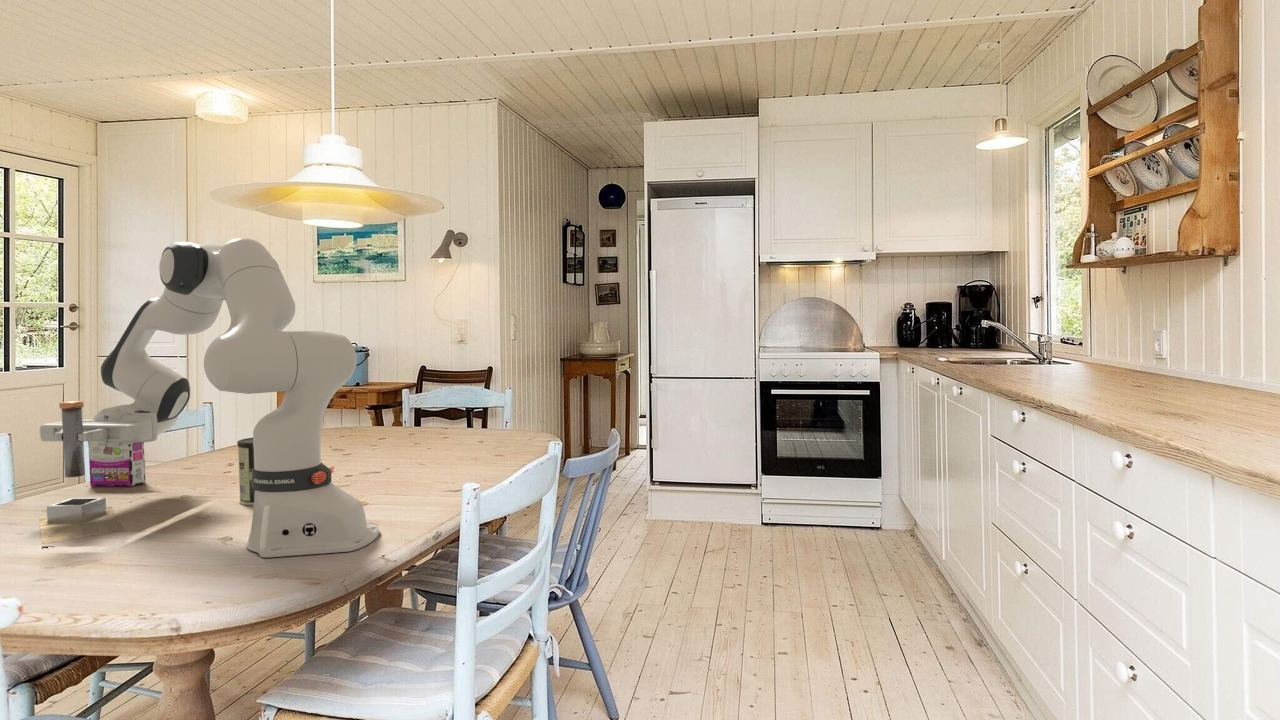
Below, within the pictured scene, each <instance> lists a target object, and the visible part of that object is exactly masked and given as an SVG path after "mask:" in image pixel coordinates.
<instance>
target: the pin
mask: <svg viewBox="0 0 1280 720" xmlns="http://www.w3.org/2000/svg"><path fill="white" fill-rule="evenodd" d="M58 405H59V409H61V421H62V429H63V441H62V445H63V446H62V447H63V465H64V466H63V468H64V477H65V478H78V477H83V476H85V475H86V470H85V467H86V466H85V465H86V464H85V446H84V441H78V438H79V437H78V433H80V432H83V423H82V420H83V409H82V408H84V401H83V400H81V401H80V400H76V401H62V402H59V404H58Z"/></svg>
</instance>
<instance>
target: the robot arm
mask: <svg viewBox="0 0 1280 720" xmlns="http://www.w3.org/2000/svg"><path fill="white" fill-rule="evenodd" d="M158 266H159V267H158V269H159V277H160V280H161V282H162V284H163V285H164V289H163V292H162V294H161V296H159V297H154V298H153V297H152V298H150V299H149V300H146V301H145V302H144V303H143V304H142V305H141V306H140V307H139V309H138V310H137V311H136V312H135V314H134V316H133V317H132V319H131V321H130V322H129V323H128V325H127V327H126V329H125V331H124V332H123V333H122V335H121V337H120V338H119V341H118V343H116V345H115V347H114V348H113V350H112V351H111V352H110V353H109V354H108V355H107V356H106V358H104V360H103V362H102V364H101V366H100V376H101V379H102V382H103V384H104V385H105V386H108V387H110V388H111V389H114V390H116V391H118V392H121V393H123V394H125V395H126V396H128V397H130V398H131V399H133V400H134V401H133V402H132V403H130V404H129V403H128V404H121V405H116V406H110V407H106V408H105V407H104V408H103V409H101V410H99V411H97V413H96V414H95V415H94V418H93V419H82V423H83V432H80V433H78V437H79V438H78V441H83V442H88V441H99V442H100V443H101V444H103V445H105V446H108V447H119V446H123V445H129V444H132V443H139V442H144V443H151V442H154V441H157V440H158V436H159V435H161V434H163V433H165V432H167V431H168V430H170V429H171V428H172V427H173V426H174V425H175V424H176V422H177V420H178V416H179V415H180V414H181V413H182V412H183V410H184V409H185V408H186V406H187V405H188V402H189V400H190V398H191V386H190V382H189V380H188V378H185V377H184V376H183V375H181V374H179V373H178V372H176V371H174V370H173V369H171V368H170V367H168V366H165V365H164V364H162V363H161V362H159V361H157V360H155V359H154V358H152V357H151V356H150V355H149V354H148V353H147V351H146V347H147V346H148V344H149V342H150V340H151V339H152V338H153V336H154V334H155V333H156V331H160V332H166V333H169V334H174V335H179V336H181V335H184V336H188V335H195V334H200V333H202V332H204V331H207V330H208V329H209V328H211V327H212V325H213V324H214V323H215V322H216V320H217V318H218V316H219V314H220V311H221V308H222V305H223V301H225V303H226V306H227V309H228V313H229V316H230V325H229V327H228V329H227V330H226V331H225V332H224V333H222V334H221V335H218V336H217V337H216V338H215V339H213V340H212V342H211V343H210V344H209V345H208V346H207V349H206V351H205V352H204V358H203V369H204V373H205V375H206V378H207V379H208V380H209V382H210V383H211V385H212V386H213V387H214V388H216V389H217V390H218V391H220V392H228V393H235V394H246V395H251V394H265V393H266V394H267V393H279V392H284V397H283V399H282V402H281V403H280V404H279V406H278V407H277V408H276V409H274V410H273V411H271V412H269V413H267V414H265V415H264V416H263V417H261V418H260V419H259V420H258V422H257V423H256V425H255V426H254V429H253V431H252V435H253V437H252V438H253V444H254V468H253V469H252V494H253V498H254V505H253V512H252V521H251V526H250V530H249V531H250V532H249V536H248V540H247V543H246V548H247V549H248V550H250V551H251V552H254V553H257V554H258V555H259V557H261V558H276V557H289V556H290V557H291V556H293V557H294V556H305V555H306V556H307V555H321V554H332V553H333V554H334V553H347V552H352V551H355V550H359V549H362V548H364V547H366V546H368V545H370V543H372V542H373V541H374V540H376V539H377V538H378V536H379V535H380V530H379V526H378V525H376V524H368V523H367V522H368V521H367V518H366V512H365V508H364V506H363V504H362V502H361V501H360V500H359V499H357V498H356V497H354V496H352V495H351V494H349V493H348V492H346V491H345V490H344V489H341V488H340V487H339V486H337V485H335V484H334V483H333V482H332V473H333V474H334V472H335V470H334V469H335V466H330V467H329V466H326V465H325V464H324V463H323V462H322V461H321V460H322V457H321V456H322V455H321V453H322V452H321V441H322V439H321V438H322V426H323V425H322V424H323V419H324V416H325V414H326V413H325V412H326V409H327V408H328V405H329V403H330V402H331V400H332V398H333V397H334V395H335V394H336V393H337V392H338V391H339V389H340V388H341V387H342V386H343V385H345V384H347V382H348V381H349V380H350V379H351V378H352V377H353V375H354V373H355V370H356V368H357V362H358V361H357V360H358V359H357V353H356V349H355V347H354V345H353V343H352V342H351V341H350V339H349V338H348V337H346V336H345V335H343V334H337V333H333V332H327V331H321V330H313V331H312V330H311V331H309V330H308V331H307V330H305V331H303V330H302V331H301V330H300V331H298V330H297V331H293V330H292V331H290V330H289V331H285V330H284V329H285V328H286V327H287V326H289V325H290V323H291V322H292V321H293V319H294V317H295V313H296V303H295V300H294V298H293V296H292V293H291V291H290V289H289V286H288V284H287V282H286V280H285V277H284V275H283V273H282V271H281V268H280V267H279V264H278V263H277V261H276V259H275V258H273V256H272V254H271V253H270V252H269V251H268V250H267V248H266V247H265V246H264V245H263V244H262V243H260V242H259V241H257V240H255V239H251V238H245V237H241V238H234V239H231V240H229V241H227V242H225V243H224V244H223V245H219V244H209V243H208V244H207V243H194V242H192V241H178V242H172V243H170V244H169V245H168V246H167V247H165V248H164V249H163V251H162V254H161V256H160V259H159V265H158ZM39 438H40V440H41V442H63V429H62V420H61V421H60V420H59V421H54V422H53V421H52V422H47V423H46V422H45V423H43V424H41V425H40V426H39Z"/></svg>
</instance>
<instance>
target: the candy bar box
mask: <svg viewBox="0 0 1280 720" xmlns="http://www.w3.org/2000/svg"><path fill="white" fill-rule="evenodd" d="M87 442H88V443H87V444H88V461H89V462H88V463H89V465H88V466H89V483H90V487H92V486H96V487H99V488H100V487H102V486H126V487H131V488H132V487H135V485H136V486H138V485H143V484H145V483H146V463H145V442H139V443H132V444H129V445H123V446H119V447H108V446H105V445H103V444H101V443H100V442H99V441H87ZM113 476H114V477H113ZM105 477H108V478H105ZM142 483H143V484H142ZM126 487H125V488H126Z"/></svg>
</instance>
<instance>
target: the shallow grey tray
mask: <svg viewBox="0 0 1280 720" xmlns="http://www.w3.org/2000/svg"><path fill="white" fill-rule="evenodd" d="M106 507H107V498H106V497H71V498H68V499H65V500H63V501H59V502H55V503H53V504H50V505H47V506H46V516H47V521H83V520H85V519H88V518H91V517H93V516H96V515H99V514H101V513H104V512H106Z"/></svg>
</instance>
